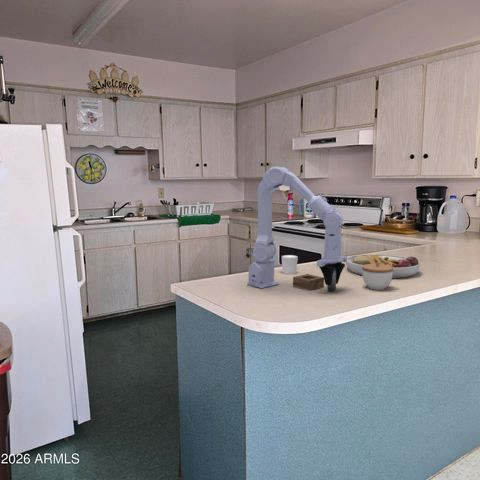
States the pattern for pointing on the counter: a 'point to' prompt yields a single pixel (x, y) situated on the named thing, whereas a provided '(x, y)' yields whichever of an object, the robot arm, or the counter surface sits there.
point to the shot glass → (289, 264)
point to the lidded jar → (377, 275)
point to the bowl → (399, 264)
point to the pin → (333, 286)
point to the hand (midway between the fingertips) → (331, 283)
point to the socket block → (308, 282)
